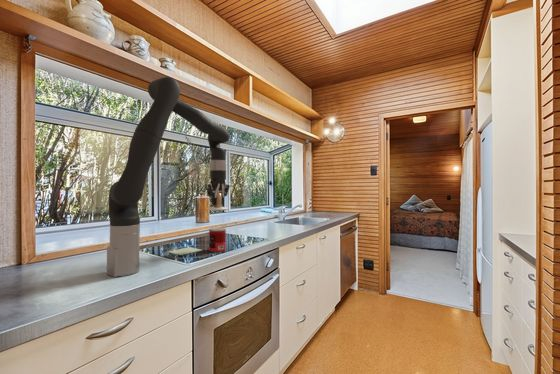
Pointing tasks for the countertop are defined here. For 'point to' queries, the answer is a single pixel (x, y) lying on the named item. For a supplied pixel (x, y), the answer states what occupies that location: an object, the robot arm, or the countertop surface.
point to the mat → (184, 251)
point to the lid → (218, 204)
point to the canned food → (217, 239)
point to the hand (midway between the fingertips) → (217, 205)
